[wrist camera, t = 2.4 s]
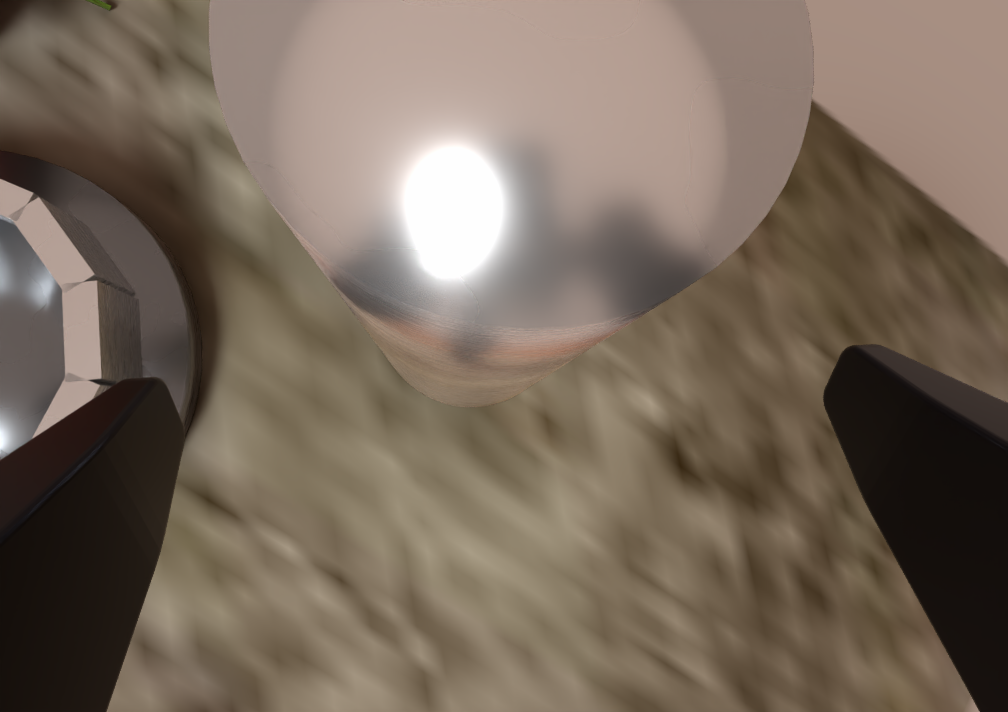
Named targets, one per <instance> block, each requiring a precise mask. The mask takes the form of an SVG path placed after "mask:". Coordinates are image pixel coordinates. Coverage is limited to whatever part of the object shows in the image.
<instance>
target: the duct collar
mask: <svg viewBox="0 0 1008 712" xmlns="http://www.w3.org/2000/svg"><path fill="white" fill-rule="evenodd" d="M201 372H202V340H201V333H200V326H199V319H198V314H197V311H196V307H195V304H194V300H193V297H192V293H191V291H190V288H189V286H188V284H187V282H186V280H185V277H184V275H183V273H182V271H181V268H180V267H179V265H178V264H177V262H176V260H175V259H174V257H173V256H172V254H171V253H170V251H169V249H168V248H167V246H166V245H165V244H164V243H163V242H162V240H161V239H160V238H159V237H158V236H157V235H156V233H155V232H154V231H153V230H152V229H151V227H150V226H148V225H147V224H146V223H145V222H144V221H143V220H142V219H141V218H139V217H138V216H137V215H136V214H135V213H134V212H133V211H132V210H131V209H129V208H128V207H126V206H125V205H124V204H122V203H121V202H119V201H118V200H117V199H115V198H114V197H113V196H111V195H110V194H108V193H107V192H105V191H104V190H102V189H101V188H99V187H98V186H96V185H95V184H93V183H92V182H90V181H89V180H87V179H85V178H83V177H81V176H79V175H77V174H75V173H73V172H71V171H69V170H67V169H65V168H63V167H60V166H57V165H54V164H52V163H49V162H46V161H43V160H40V159H37V158H34V157H29V156H25V155H20V154H16V153H11V152H5V151H0V459H2V458H4V457H5V456H7V455H8V454H10V453H11V452H13V451H14V450H16V449H17V448H19V447H20V446H22V445H23V444H25V443H26V442H28V441H29V440H31V439H32V438H34V437H36V436H37V435H39V434H40V433H42V432H43V431H45V430H46V429H48V428H49V427H51V426H52V425H54V424H55V423H57V422H58V421H60V420H61V419H63V418H64V417H66V416H68V415H69V414H71V413H72V412H74V411H75V410H77V409H78V408H80V407H81V406H83V405H84V404H86V403H87V402H89V401H90V400H92V399H93V398H95V397H96V396H98V395H99V394H101V393H102V392H104V391H106V390H107V389H109V388H110V387H112V386H113V385H115V384H116V383H118V382H119V381H121V380H123V379H127V378H140V377H158V378H160V379H162V380H163V381H164V382H165V383H166V385H167V387H168V389H169V392H170V394H171V396H172V399H173V401H174V404H175V406H176V408H177V411H178V413H179V415H180V418H181V420H182V423H183V426H184V432H185V436H186V433H187V431H188V429H189V426H190V424H191V420H192V417H193V413H194V410H195V406H196V402H197V399H198V394H199V387H200V379H201Z"/></svg>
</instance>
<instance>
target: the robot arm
mask: <svg viewBox="0 0 1008 712" xmlns="http://www.w3.org/2000/svg"><path fill="white" fill-rule="evenodd" d="M823 401H824V406H825V410H826V412H827V414H828V417H829V419H830V421H831V424H832V426H833V429H834V431H835V433H836V436H837V438H838V440H839V443H840V445H841V448H842V450H843V452H844V455H845V457H846V459H847V462H848V464H849V467H850V469H851V471H852V474H853V476H854V479H855V481H856V483H857V486H858V488H859V490H860V492H861V494H862V497H863V499H864V501H865V503H866V505H867V507H868V509H869V511H870V513H871V515H872V517H873V518H874V520H875V522H876V524H877V526H878V527H879V529H880V531H881V533H882V535H883V537H884V538H885V540H886V542H887V544H888V546H889V548H890V549H891V551H892V553H893V555H894V557H895V558H896V560H897V562H898V564H899V566H900V568H901V569H902V571H903V573H904V575H905V577H906V578H907V580H908V582H909V584H910V586H911V588H912V589H913V591H914V593H915V595H916V597H917V599H918V600H919V602H920V604H921V606H922V608H923V609H924V611H925V613H926V615H927V617H928V619H929V620H930V622H931V624H932V626H933V628H934V629H935V631H936V633H937V635H938V637H939V639H940V640H941V642H942V644H943V646H944V648H945V649H946V651H947V653H948V655H949V657H950V659H951V660H952V662H953V664H954V666H955V668H956V670H957V671H958V673H959V675H960V677H961V679H962V680H963V682H964V684H965V686H966V688H967V690H968V691H969V693H970V695H971V697H972V699H973V700H974V702H975V704H976V706H977V708H978V710H979V711H980V712H1008V403H1007V402H1004V401H1002V400H1000V399H998V398H996V397H993V396H991V395H989V394H987V393H985V392H983V391H980V390H978V389H976V388H974V387H972V386H969V385H967V384H965V383H963V382H961V381H958V380H956V379H954V378H952V377H950V376H947V375H945V374H943V373H941V372H939V371H936V370H934V369H932V368H930V367H928V366H925V365H923V364H921V363H919V362H917V361H915V360H912V359H910V358H908V357H906V356H904V355H901V354H899V353H897V352H895V351H893V350H890V349H888V348H886V347H884V346H881V345H876V344H870V345H852V346H849V347H847V348H846V349H845V350H844V351H843V352H842V353H841V355H840V357H839V359H838V361H837V363H836V366H835V368H834V370H833V372H832V374H831V376H830V379H829V381H828V383H827V385H826V387H825V390H824V395H823ZM184 440H185V432H184V426H183V423H182V420H181V418H180V415H179V413H178V411H177V408H176V406H175V404H174V401H173V399H172V396H171V394H170V392H169V389H168V387H167V385H166V383H165V382H164V381H163V380H162V379H160V378H158V377H140V378H127V379H123V380H121V381H119V382H118V383H116V384H115V385H113V386H112V387H110V388H109V389H107V390H106V391H104V392H102V393H101V394H99V395H98V396H96V397H95V398H93V399H92V400H90V401H89V402H87V403H86V404H84V405H83V406H81V407H80V408H78V409H77V410H75V411H74V412H72V413H71V414H69V415H68V416H66V417H64V418H63V419H61V420H60V421H58V422H57V423H55V424H54V425H52V426H51V427H49V428H48V429H46V430H45V431H43V432H42V433H40V434H39V435H37V436H36V437H34V438H32V439H31V440H29V441H28V442H26V443H25V444H23V445H22V446H20V447H19V448H17V449H16V450H14V451H13V452H11V453H10V454H8V455H7V456H5V457H4V458H2V459H0V712H107V709H108V706H109V703H110V700H111V697H112V694H113V691H114V688H115V685H116V682H117V679H118V676H119V674H120V671H121V668H122V665H123V662H124V659H125V656H126V653H127V650H128V647H129V644H130V641H131V638H132V635H133V633H134V630H135V627H136V624H137V621H138V618H139V615H140V612H141V609H142V606H143V603H144V600H145V597H146V594H147V592H148V589H149V586H150V583H151V580H152V577H153V574H154V571H155V568H156V565H157V561H158V558H159V555H160V552H161V548H162V544H163V540H164V536H165V531H166V527H167V522H168V517H169V513H170V508H171V503H172V498H173V494H174V489H175V484H176V479H177V475H178V470H179V465H180V461H181V456H182V451H183V446H184Z"/></svg>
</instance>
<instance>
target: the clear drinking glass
mask: <svg viewBox="0 0 1008 712" xmlns="http://www.w3.org/2000/svg"><path fill="white" fill-rule="evenodd" d="M209 51H210V57H211V64H212V71H213V77H214V84H215V89H216V92H217V95H218V99H219V102H220V105H221V109H222V112H223V115H224V118H225V122H226V125H227V127H228V129H229V132H230V134H231V136H232V138H233V140H234V142H235V144H236V147H237V149H238V151H239V153H240V155H241V157H242V159H243V162H244V163H245V165H246V166H247V168H248V169H249V171H250V173H251V174H252V176H253V177H254V179H255V180H256V182H257V183H258V185H259V186H260V188H261V189H262V191H263V193H264V194H265V196H266V197H267V199H268V200H269V201H270V203H271V204H272V205H273V207H274V208H275V209H276V211H277V212H278V213H279V215H280V216H281V217H282V219H283V220H284V221H285V223H286V224H287V225H288V227H289V228H290V229H291V231H292V232H293V233H294V235H295V236H296V237H297V239H298V240H299V241H300V243H301V244H302V245H303V247H304V248H305V249H306V251H307V252H308V253H309V255H310V256H311V257H312V259H313V260H314V261H315V263H316V264H317V265H318V267H319V268H320V269H321V271H322V272H323V273H324V275H325V276H326V277H327V279H328V280H329V281H330V283H331V284H332V285H333V287H334V288H335V289H336V291H337V292H338V293H339V295H340V296H341V297H342V299H343V300H344V301H345V303H346V304H347V305H348V307H349V308H350V309H351V311H352V312H353V313H354V315H355V316H356V317H357V319H358V320H359V321H360V323H361V324H362V325H363V327H364V328H365V329H366V331H367V332H368V333H369V335H370V336H371V337H372V339H373V340H374V341H375V343H376V344H377V345H378V347H379V348H380V349H381V351H382V352H383V353H384V355H385V356H386V357H387V359H388V360H389V361H390V363H391V364H392V365H393V367H394V368H395V369H396V371H397V372H398V373H399V374H400V375H401V376H402V378H403V379H404V380H405V381H406V382H408V383H409V384H410V385H411V386H412V387H413V388H415V389H416V390H418V391H419V392H420V393H422V394H423V395H425V396H427V397H429V398H431V399H433V400H436V401H439V402H442V403H444V404H448V405H453V406H458V407H483V406H488V405H494V404H497V403H500V402H503V401H506V400H508V399H510V398H512V397H514V396H516V395H518V394H519V393H521V392H523V391H524V390H526V389H527V388H529V387H530V386H532V385H534V384H535V383H537V382H538V381H540V380H542V379H543V378H545V377H546V376H548V375H549V374H551V373H553V372H554V371H556V370H557V369H559V368H560V367H562V366H564V365H565V364H567V363H568V362H570V361H571V360H573V359H575V358H576V357H578V356H579V355H581V354H582V353H584V352H586V351H587V350H589V349H590V348H592V347H594V346H595V345H597V344H598V343H600V342H601V341H603V340H605V339H606V338H608V337H609V336H611V335H612V334H614V333H616V332H617V331H619V330H620V329H622V328H623V327H625V326H627V325H628V324H630V323H631V322H633V321H635V320H636V319H638V318H639V317H641V316H642V315H644V314H646V313H647V312H649V311H650V310H652V309H653V308H655V307H657V306H658V305H660V304H661V303H663V302H664V301H666V300H668V299H669V298H671V297H672V296H674V295H676V294H677V293H679V292H680V291H682V290H683V289H685V288H686V287H688V286H689V285H691V284H692V283H694V282H695V281H697V280H698V279H700V278H701V277H703V276H704V275H706V274H707V273H709V272H710V271H712V270H713V269H715V268H716V267H717V266H718V265H719V264H720V263H722V262H723V261H724V260H725V259H726V258H727V257H728V256H729V255H730V254H732V253H733V252H734V251H735V250H736V249H737V248H738V247H739V246H741V245H742V244H743V243H744V241H745V240H746V239H747V238H748V237H749V236H750V234H751V233H752V232H753V231H754V230H755V228H756V227H757V226H758V225H759V224H760V222H761V221H762V220H763V219H764V218H765V216H766V215H767V214H768V212H769V210H770V209H771V207H772V206H773V204H774V202H775V201H776V199H777V198H778V196H779V194H780V193H781V191H782V189H783V188H784V186H785V185H786V182H787V180H788V178H789V175H790V173H791V171H792V169H793V166H794V164H795V162H796V159H797V157H798V155H799V152H800V149H801V146H802V142H803V138H804V135H805V131H806V127H807V124H808V120H809V115H810V107H811V100H812V92H813V84H814V71H813V70H814V67H813V66H814V65H813V43H812V35H811V28H810V21H809V15H808V10H807V6H806V3H805V0H210V7H209Z"/></svg>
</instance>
